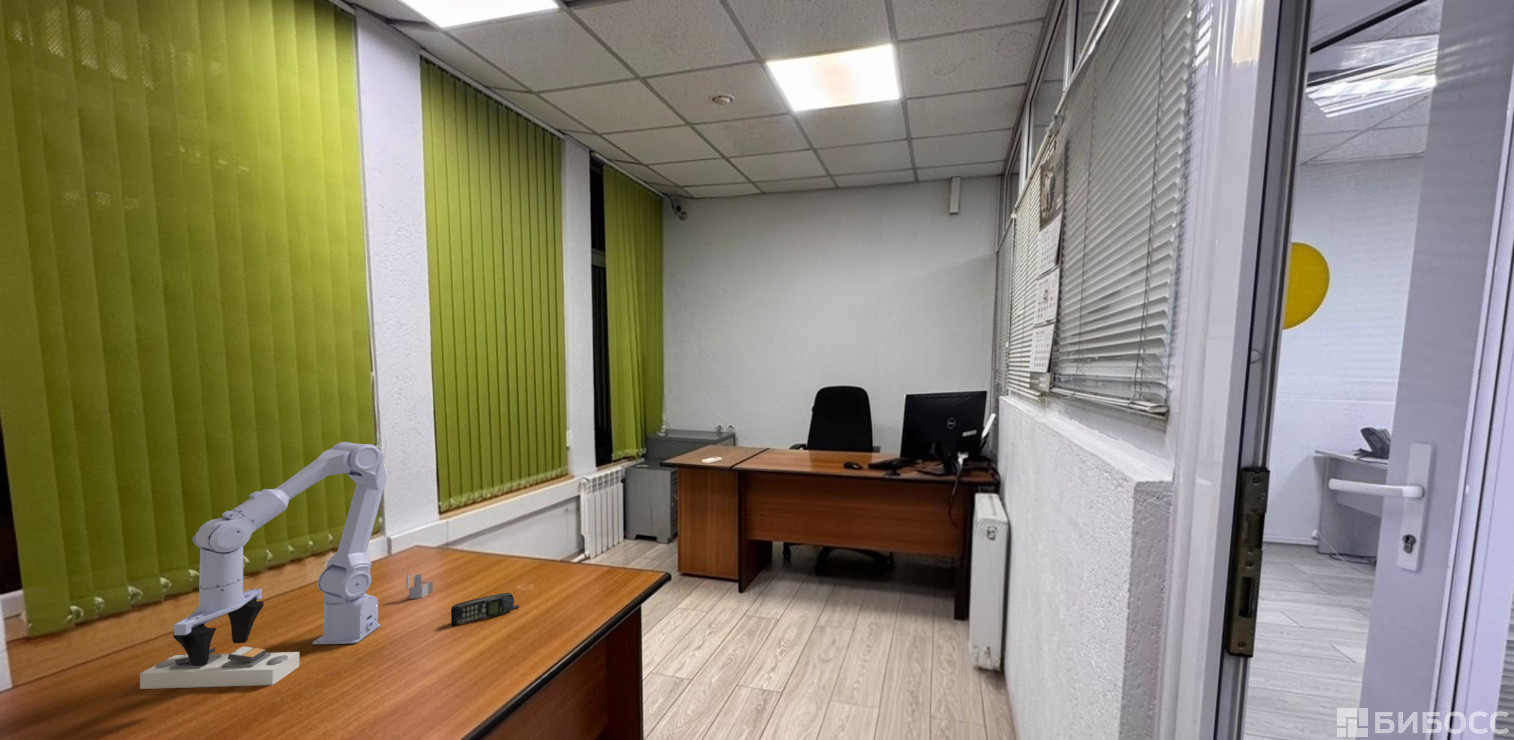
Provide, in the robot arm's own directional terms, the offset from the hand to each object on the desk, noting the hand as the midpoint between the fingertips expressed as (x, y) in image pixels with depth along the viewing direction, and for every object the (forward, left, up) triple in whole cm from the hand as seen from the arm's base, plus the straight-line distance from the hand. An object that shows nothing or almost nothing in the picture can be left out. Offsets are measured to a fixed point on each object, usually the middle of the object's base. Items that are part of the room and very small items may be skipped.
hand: (220, 653), depth 95 cm
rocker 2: (-2, -4, -3) cm, 5 cm away
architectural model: (-9, -41, -7) cm, 43 cm away
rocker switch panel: (+3, -4, -7) cm, 8 cm away
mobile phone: (-37, -26, -7) cm, 46 cm away
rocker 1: (+8, -4, -3) cm, 9 cm away
